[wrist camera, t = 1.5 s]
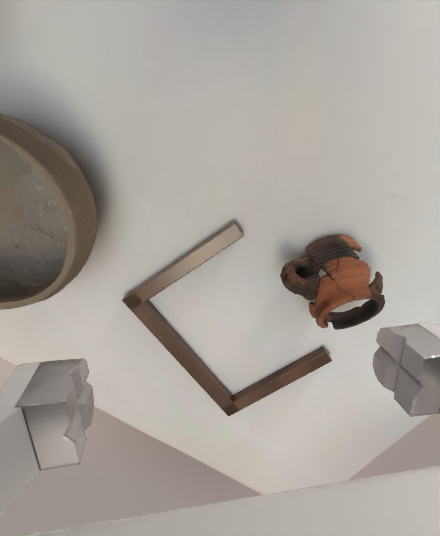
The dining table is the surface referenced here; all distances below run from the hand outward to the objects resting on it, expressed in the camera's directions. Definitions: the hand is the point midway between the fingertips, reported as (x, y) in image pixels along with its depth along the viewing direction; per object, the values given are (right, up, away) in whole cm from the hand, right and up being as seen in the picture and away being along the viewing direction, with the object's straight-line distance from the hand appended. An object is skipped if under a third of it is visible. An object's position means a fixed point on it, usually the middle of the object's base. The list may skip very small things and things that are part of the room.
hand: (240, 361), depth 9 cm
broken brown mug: (+12, +2, +31) cm, 33 cm away
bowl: (-21, +10, +27) cm, 36 cm away
